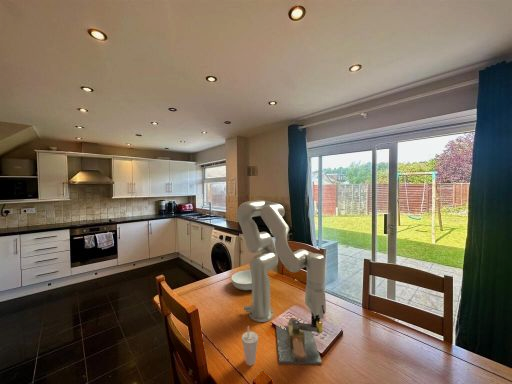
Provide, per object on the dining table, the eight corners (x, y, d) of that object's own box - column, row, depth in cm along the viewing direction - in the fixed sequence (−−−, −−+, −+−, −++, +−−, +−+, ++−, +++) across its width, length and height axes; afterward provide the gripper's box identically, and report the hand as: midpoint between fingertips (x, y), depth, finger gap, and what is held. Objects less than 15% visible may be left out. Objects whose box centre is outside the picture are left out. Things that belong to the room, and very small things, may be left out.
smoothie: (242, 355, 83) (241, 321, 83) (258, 354, 84) (257, 320, 83) (242, 369, 77) (241, 332, 77) (259, 367, 78) (258, 331, 77)
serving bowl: (235, 278, 152) (235, 269, 152) (264, 280, 149) (263, 270, 149) (227, 293, 132) (227, 282, 132) (260, 295, 129) (260, 284, 129)
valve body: (279, 363, 79) (279, 348, 79) (276, 327, 99) (275, 315, 99) (321, 364, 78) (321, 348, 78) (309, 327, 98) (309, 315, 98)
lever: (292, 331, 87) (292, 320, 87) (292, 326, 90) (292, 316, 90) (322, 336, 84) (322, 324, 84) (322, 330, 87) (322, 320, 87)
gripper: (300, 276, 95) (300, 315, 96) (316, 293, 81) (316, 339, 82) (314, 275, 97) (314, 313, 98) (333, 291, 83) (333, 335, 83)
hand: (315, 325), depth 90 cm, fingers closed
